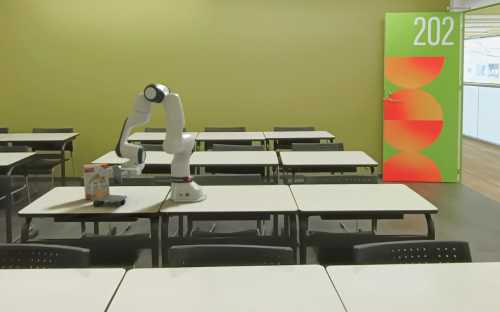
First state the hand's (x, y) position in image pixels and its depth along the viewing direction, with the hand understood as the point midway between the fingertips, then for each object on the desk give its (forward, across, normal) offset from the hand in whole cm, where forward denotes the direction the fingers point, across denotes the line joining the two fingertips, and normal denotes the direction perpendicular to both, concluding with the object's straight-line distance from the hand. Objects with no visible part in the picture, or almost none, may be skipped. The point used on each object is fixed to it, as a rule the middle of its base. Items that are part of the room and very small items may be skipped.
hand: (116, 173), depth 272 cm
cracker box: (-14, -22, +19) cm, 32 cm away
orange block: (0, -11, +14) cm, 18 cm away
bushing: (-1, 0, +6) cm, 6 cm away
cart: (0, -6, +19) cm, 20 cm away
